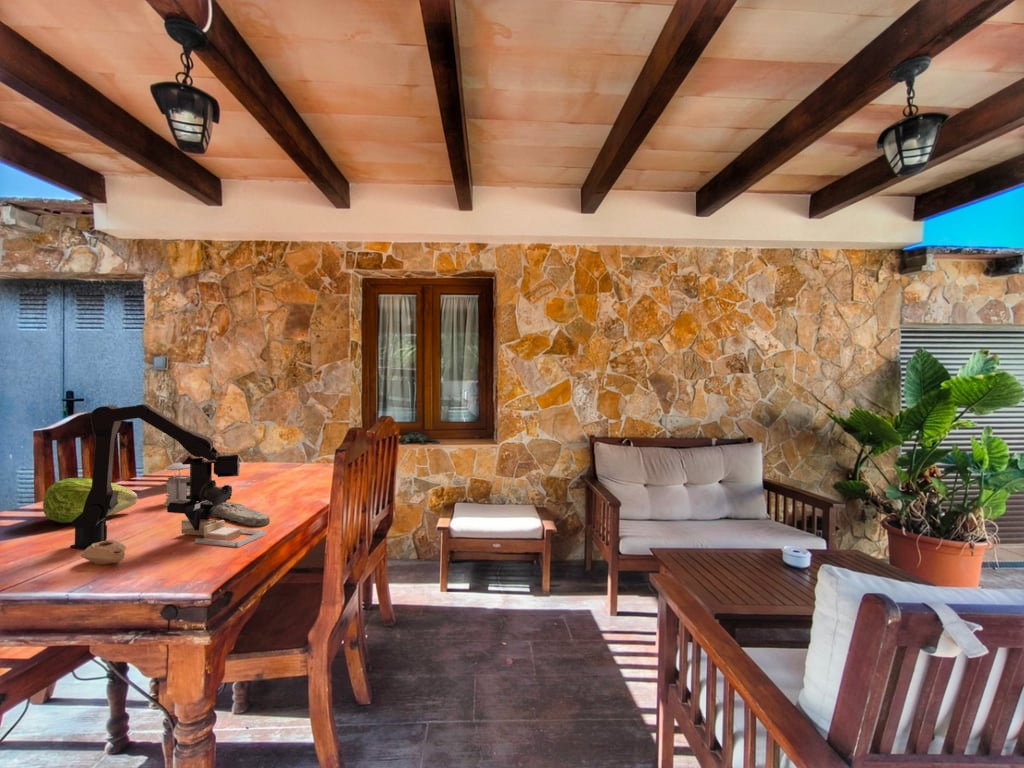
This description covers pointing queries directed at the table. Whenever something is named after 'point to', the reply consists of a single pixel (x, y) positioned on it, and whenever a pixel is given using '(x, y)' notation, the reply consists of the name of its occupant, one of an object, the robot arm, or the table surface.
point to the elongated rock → (240, 514)
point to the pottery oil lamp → (104, 552)
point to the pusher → (202, 527)
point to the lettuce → (78, 499)
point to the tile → (224, 534)
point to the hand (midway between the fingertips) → (200, 528)
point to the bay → (255, 535)
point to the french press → (177, 483)
